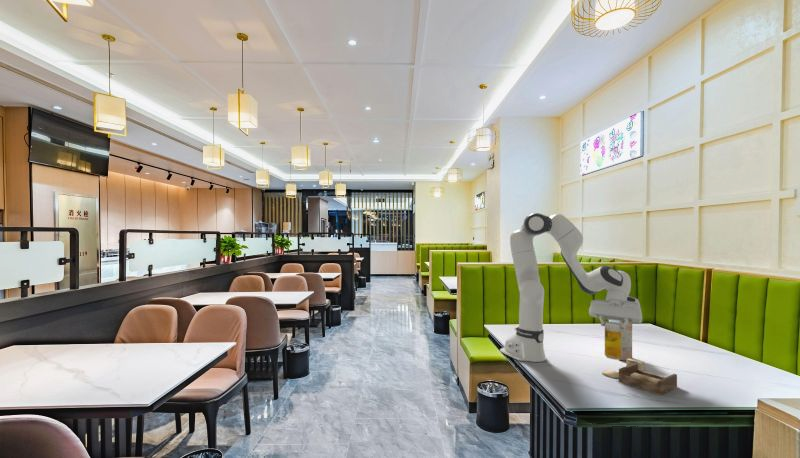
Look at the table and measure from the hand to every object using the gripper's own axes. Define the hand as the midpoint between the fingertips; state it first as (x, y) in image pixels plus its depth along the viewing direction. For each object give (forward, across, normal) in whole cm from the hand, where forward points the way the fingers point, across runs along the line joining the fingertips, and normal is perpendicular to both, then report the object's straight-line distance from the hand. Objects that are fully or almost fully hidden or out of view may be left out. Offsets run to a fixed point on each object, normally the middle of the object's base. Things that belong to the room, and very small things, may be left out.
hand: (612, 326), depth 149 cm
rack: (+15, +12, +14) cm, 24 cm away
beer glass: (+10, 0, +10) cm, 14 cm away
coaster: (+14, 0, +15) cm, 21 cm away
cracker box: (-8, -3, +38) cm, 39 cm away
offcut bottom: (+18, +12, +12) cm, 25 cm away
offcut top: (0, +6, +28) cm, 28 cm away
